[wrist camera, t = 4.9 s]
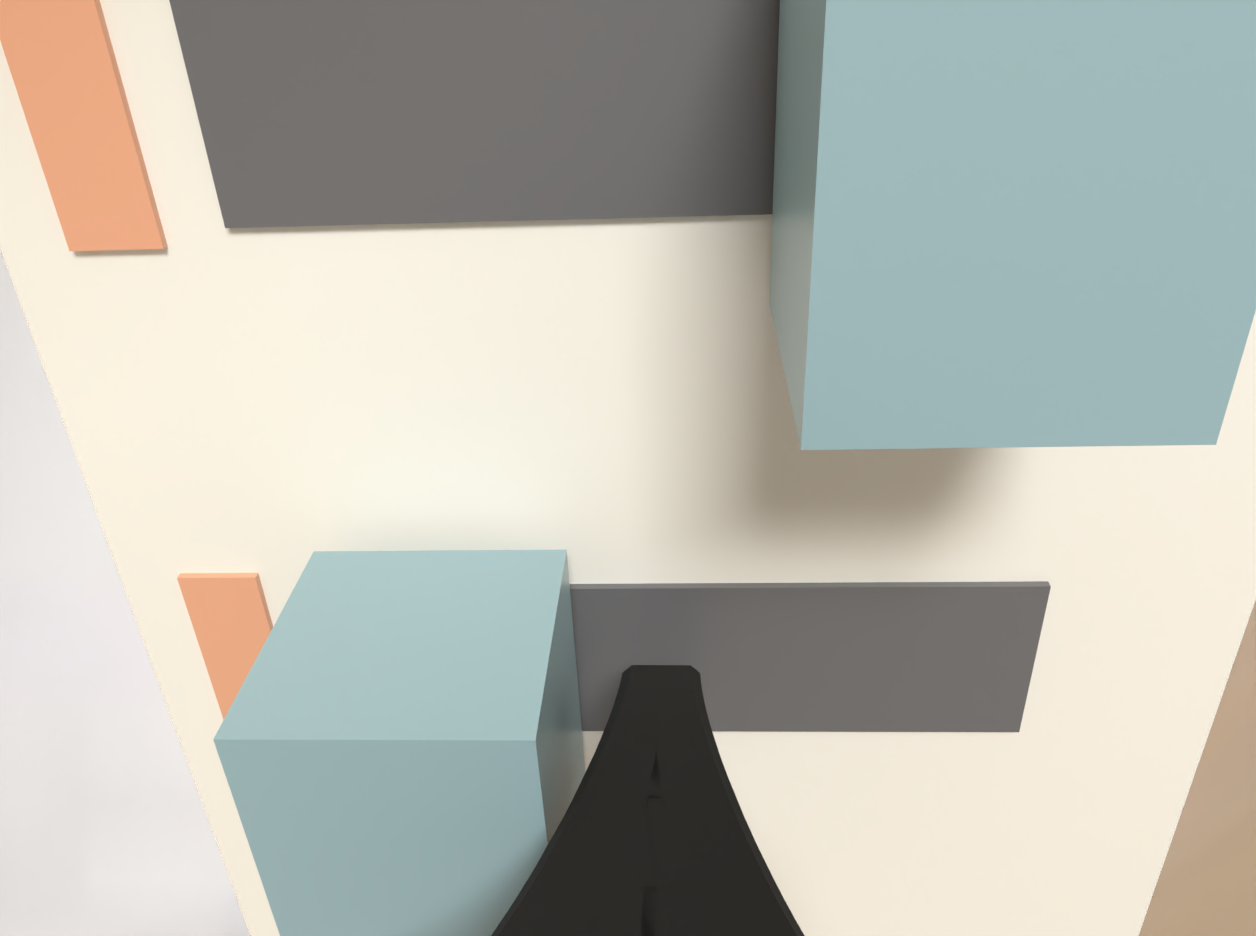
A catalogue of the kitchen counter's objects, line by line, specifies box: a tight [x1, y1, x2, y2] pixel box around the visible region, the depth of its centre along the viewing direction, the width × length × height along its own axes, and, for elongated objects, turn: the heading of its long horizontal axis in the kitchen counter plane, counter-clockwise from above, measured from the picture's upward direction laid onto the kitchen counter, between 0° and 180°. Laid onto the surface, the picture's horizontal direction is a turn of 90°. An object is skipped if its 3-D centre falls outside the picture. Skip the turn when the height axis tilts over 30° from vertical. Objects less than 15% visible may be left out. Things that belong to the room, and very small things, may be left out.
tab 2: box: [769, 0, 1256, 450], centre depth 8 cm, size 4×3×3 cm
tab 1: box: [213, 550, 585, 936], centre depth 12 cm, size 4×3×3 cm
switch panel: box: [0, 0, 1256, 936], centre depth 12 cm, size 20×14×2 cm
